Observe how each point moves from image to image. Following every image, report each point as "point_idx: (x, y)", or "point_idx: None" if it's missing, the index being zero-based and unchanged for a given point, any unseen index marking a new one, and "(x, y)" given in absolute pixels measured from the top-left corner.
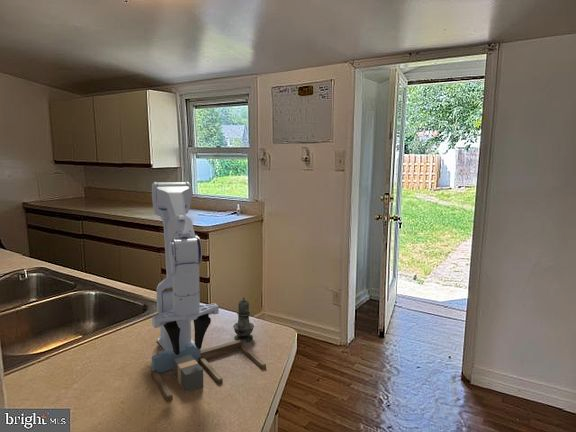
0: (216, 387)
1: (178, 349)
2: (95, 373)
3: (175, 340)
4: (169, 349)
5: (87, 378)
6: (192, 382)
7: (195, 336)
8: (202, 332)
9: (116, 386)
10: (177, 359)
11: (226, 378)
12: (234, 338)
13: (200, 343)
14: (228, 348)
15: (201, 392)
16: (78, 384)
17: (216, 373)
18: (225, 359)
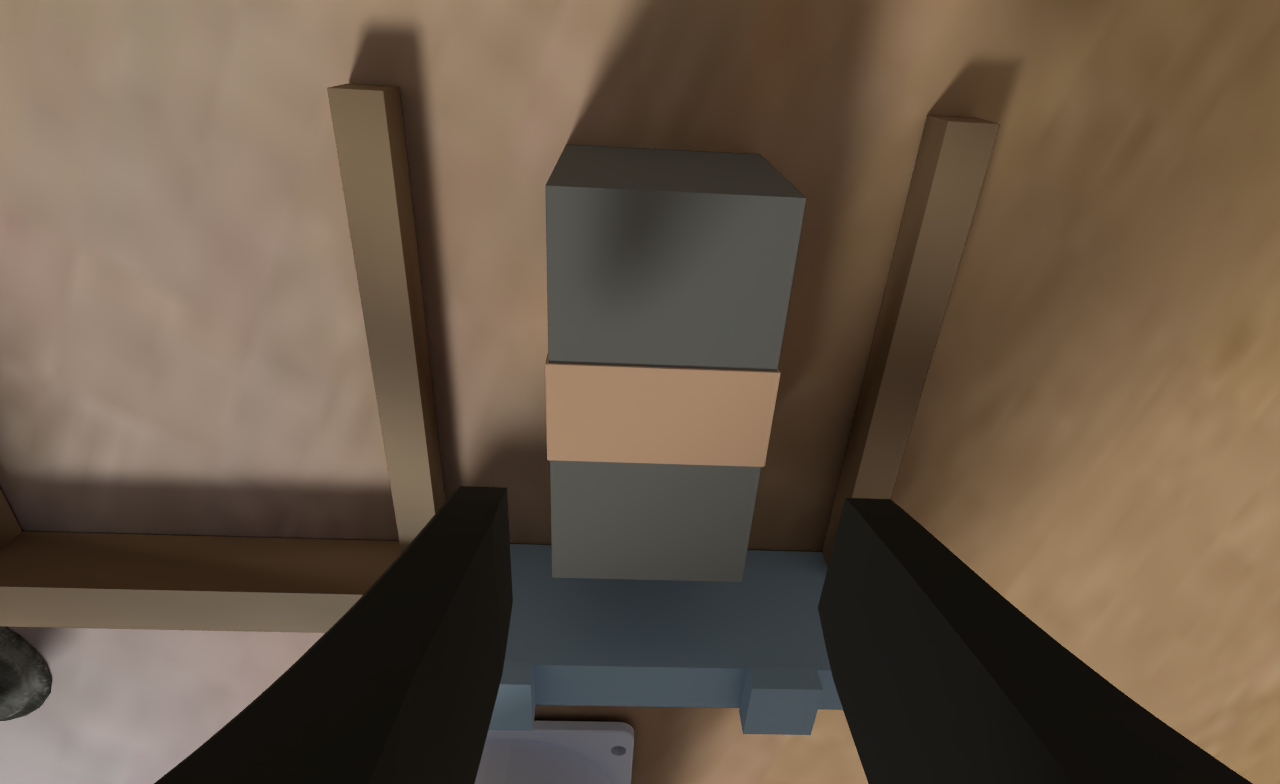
0: (445, 28)
1: (908, 551)
2: None
3: (1133, 734)
4: (604, 757)
5: (1178, 707)
6: (695, 166)
7: (473, 744)
8: (302, 758)
9: (1122, 550)
10: (711, 555)
11: (282, 134)
12: (46, 685)
13: (449, 539)
14: (121, 565)
15: (630, 42)
16: (1257, 677)
17: (366, 227)
18: (205, 455)
